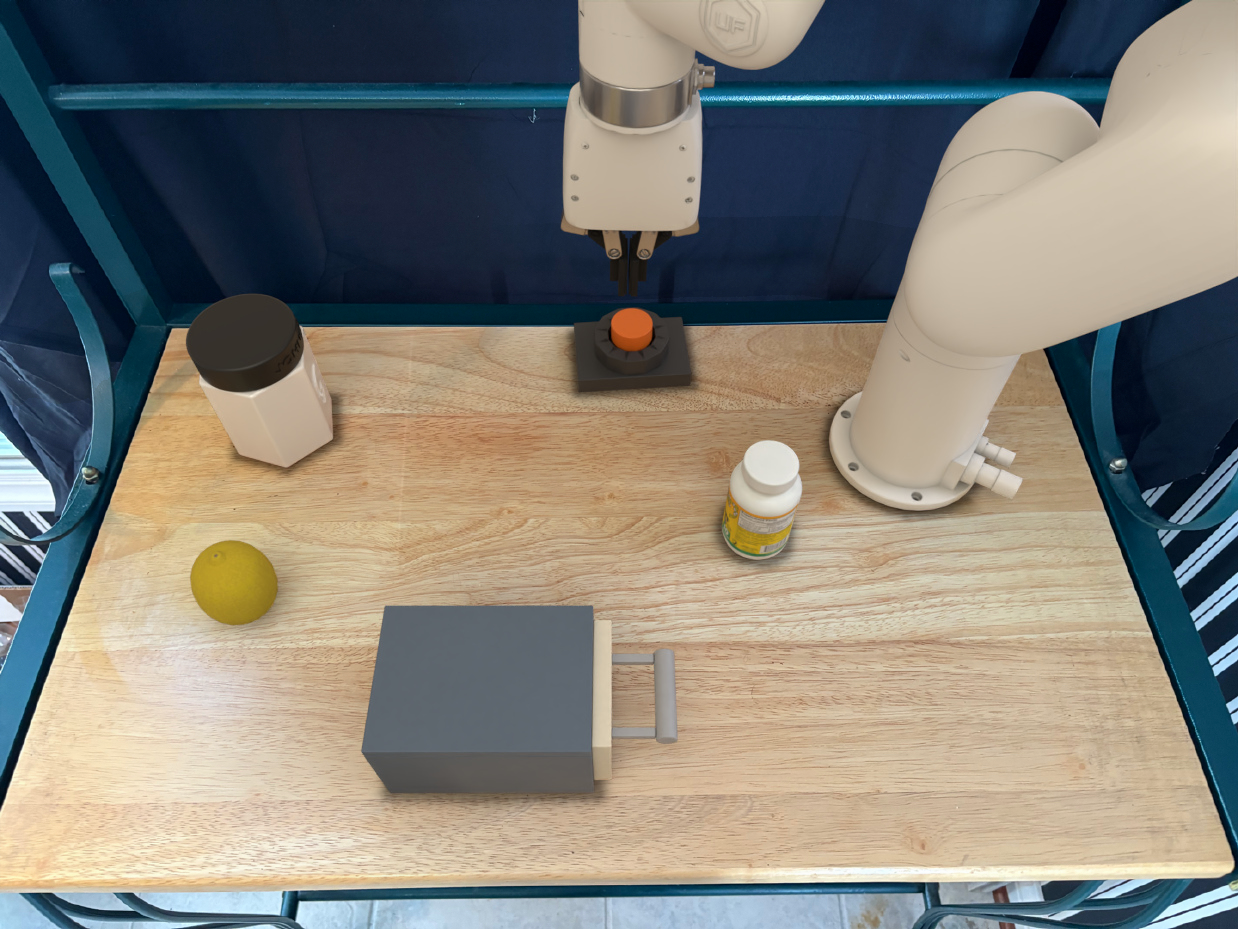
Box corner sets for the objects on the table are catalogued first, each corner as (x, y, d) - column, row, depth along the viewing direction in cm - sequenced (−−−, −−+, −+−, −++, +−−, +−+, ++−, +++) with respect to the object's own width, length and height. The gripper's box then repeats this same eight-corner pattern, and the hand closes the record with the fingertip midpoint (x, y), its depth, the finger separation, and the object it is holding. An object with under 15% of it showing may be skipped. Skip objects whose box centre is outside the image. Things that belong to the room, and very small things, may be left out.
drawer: (670, 661, 65) (675, 619, 60) (674, 780, 60) (681, 746, 55) (437, 661, 65) (420, 619, 60) (423, 780, 60) (403, 747, 55)
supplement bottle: (777, 571, 70) (797, 503, 63) (711, 548, 72) (723, 479, 64) (795, 516, 73) (817, 445, 66) (732, 495, 74) (746, 423, 67)
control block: (680, 329, 85) (683, 302, 82) (690, 386, 81) (693, 359, 78) (574, 335, 85) (572, 308, 82) (578, 393, 81) (577, 366, 78)
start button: (649, 320, 82) (650, 306, 80) (653, 350, 80) (654, 336, 78) (609, 323, 81) (609, 309, 80) (612, 352, 79) (612, 339, 78)
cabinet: (595, 658, 66) (593, 605, 59) (593, 793, 61) (591, 752, 54) (408, 658, 66) (384, 605, 59) (389, 793, 61) (360, 752, 54)
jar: (337, 460, 76) (297, 365, 67) (237, 477, 75) (181, 383, 65) (333, 381, 81) (295, 281, 72) (239, 396, 80) (187, 297, 71)
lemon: (272, 648, 67) (235, 598, 60) (202, 634, 67) (158, 583, 61) (302, 583, 70) (270, 528, 63) (235, 570, 70) (196, 514, 64)
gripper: (742, 53, 63) (714, 254, 78) (526, 48, 63) (539, 252, 78) (752, 118, 59) (719, 318, 74) (520, 114, 58) (535, 316, 73)
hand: (627, 284), depth 76 cm, fingers closed
